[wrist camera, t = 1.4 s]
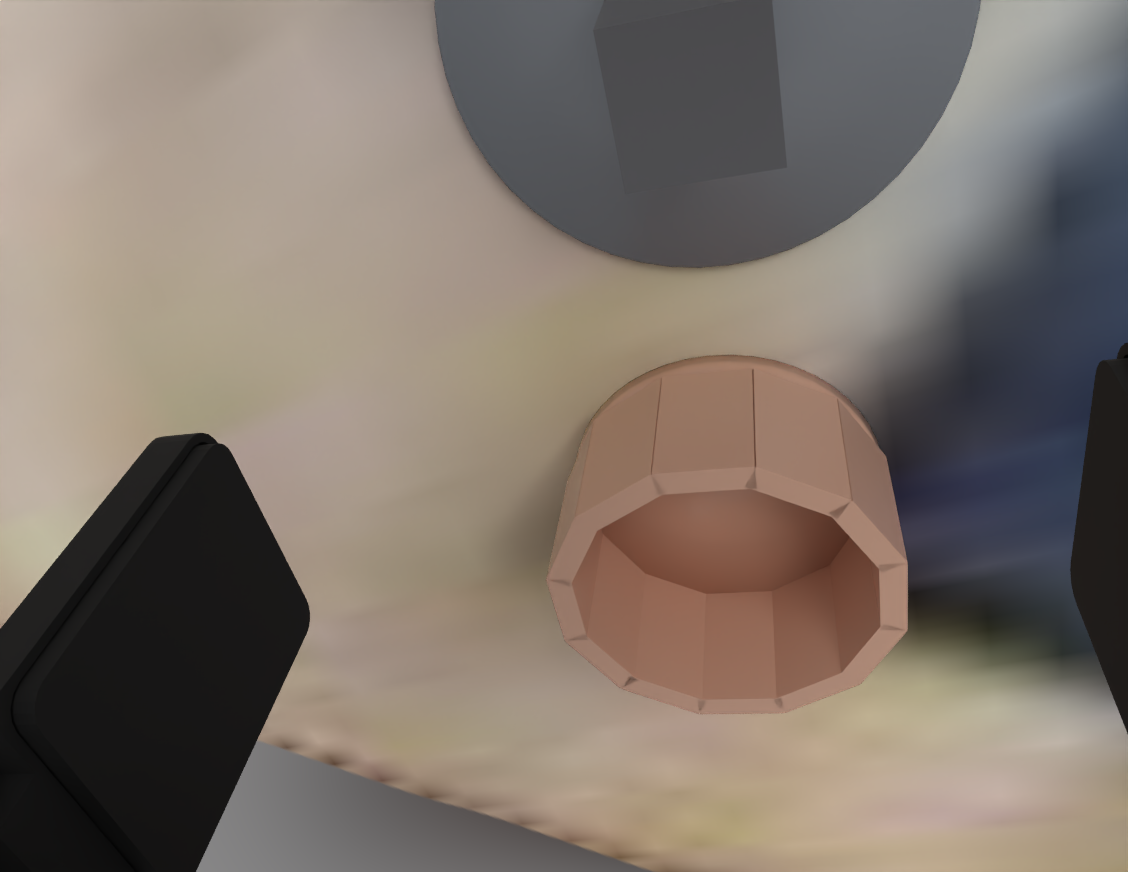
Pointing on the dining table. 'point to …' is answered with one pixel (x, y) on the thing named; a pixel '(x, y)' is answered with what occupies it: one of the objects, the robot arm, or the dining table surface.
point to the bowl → (730, 540)
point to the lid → (701, 112)
